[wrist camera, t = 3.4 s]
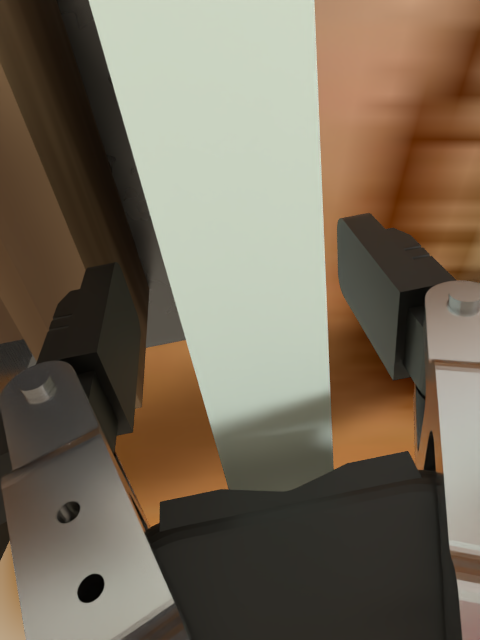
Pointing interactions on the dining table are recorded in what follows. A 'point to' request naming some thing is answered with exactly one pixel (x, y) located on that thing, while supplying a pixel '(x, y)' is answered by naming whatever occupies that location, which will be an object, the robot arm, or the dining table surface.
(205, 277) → the tall sheet
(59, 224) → the offcut bundle
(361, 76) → the dining table surface
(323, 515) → the robot arm
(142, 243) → the rack
